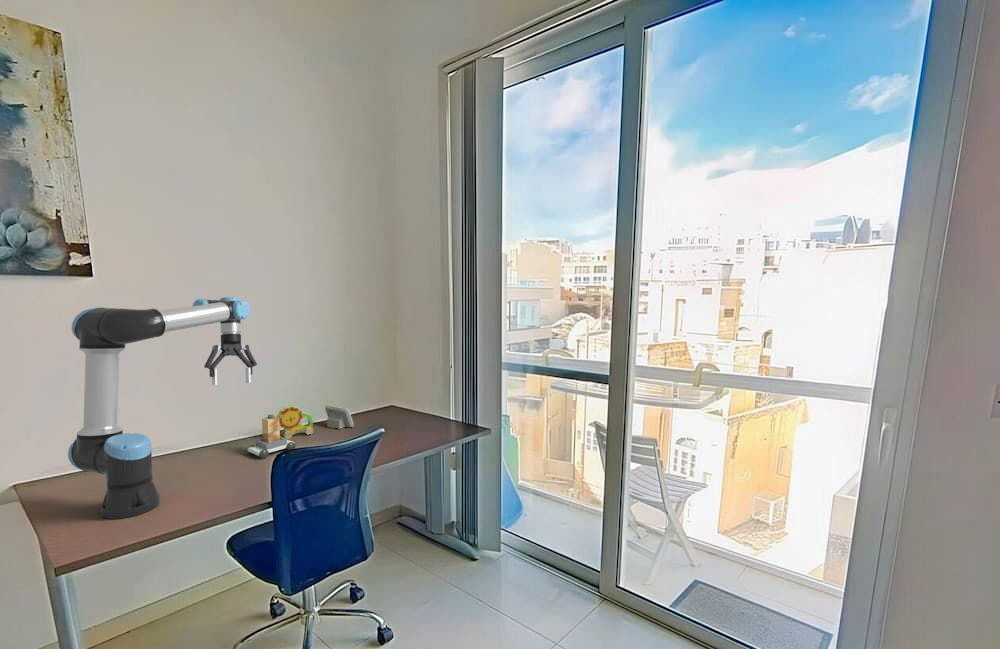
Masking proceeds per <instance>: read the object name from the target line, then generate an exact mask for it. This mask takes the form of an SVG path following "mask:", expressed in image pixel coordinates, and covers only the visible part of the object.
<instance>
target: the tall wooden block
mask: <svg viewBox="0 0 1000 649" xmlns="http://www.w3.org/2000/svg"><path fill="white" fill-rule="evenodd" d="M261 423H262V424H261V427H262V429H261V430H262V432H261V433H262V438H263V442H266V443H270V442H274V441H278V440H280V437H281V432H280V428H281V427H280V424H279V417H277V416H275V415H274V414H268V415H267V416H266V417H263V418H261Z"/></svg>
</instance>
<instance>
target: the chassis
mask: <svg viewBox="0 0 1000 649" xmlns="http://www.w3.org/2000/svg"><path fill="white" fill-rule="evenodd" d="M292 448H294V449H296V443H295V441H292V440H290V439H286V438H285V437H282V436H280V440H278V441H274V442H270V443H266V442H263V437H261V438H258V439H256V440H255V444H250V445H249V446H248V447H247V448H246V450H247V453H249V454H251V453H252V454H253V455H255V456H258V457H259V458H260V459H263V458H264V459H266V458H268V456H269V454H270V453H273V452H277V451H280V450H284V449H286V450H287V449H292Z"/></svg>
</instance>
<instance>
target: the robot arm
mask: <svg viewBox="0 0 1000 649" xmlns="http://www.w3.org/2000/svg"><path fill="white" fill-rule="evenodd" d="M250 314H251V307H250V304H249V303H248V302H246V301H245V300H240V299H239V298H238V297H234V296H233V297H231V296H227V297H226V296H225V297H221V298H220V299H207V298H204V299H203V298H198V299H196V300H194V302H193V303H192V305H191V306H185V307H178V308H171V309H169V308H168V309H163V310H159V309H157V308H150V309H149V308H148V309H133V308H115V307H114V308H113V307H93V308H87V309H84V310H83V311H81V312H80V313H79V314H76V316H75V317H74V319H73V321H72V323H71V331H72V334H73V336H74V337H75V338H77V340H79V348H78V349H79V350H80V351H81V352H83V353H84V354H85V358H84V360H85V361H84V391H83V392H84V395H83V421H82V422H83V424H82V428H81V429H79V430H78V431H77V432H76V438H75V439H74V440H73V442H72V443H71V444H70V445H69V447H68V451H67V457H68V461H69V462H70V464H71V466H73V467H74V468H77V469H78V470H81V471H83V472H85V473H94V474H101V475H105V476H106V491H105V494H104V498H103V502H102V503H101V507H100V513H101V514H100V515H101V516H102V518H104V519H108V520H110V519H111V520H115V519H116V520H117V519H125V518H131V517H134V516H138V515H143V514H145V513H147V512H149V511H151V510H153V509H156V507H158V506H159V505H160V504H161V495H160V493H159V491H158V489H157V486H156V484H155V482H154V481H153V480H154V479H153V478H154V477H153V464H152V463H153V461H152V460H153V458H152V457H153V456H152V450H153V447H152V444H151V439H150V438H149V436H148V435H145V434H142V433H137V432H135V433H130V432H128V433H123V431H124V429H123V427H122V426H120V425H119V424H118V410H119V408H118V406H119V405H118V403H119V372H120V370H119V369H120V353H121V352H123V351H124V350H125V349H126V345H127V344H132V343H136V342H140V341H145V340H150V339H154V338H159V337H162V336H163V335H164V334H165V333H169V332H174V331H178V330H179V331H180V330H185V329H190V328H196V327H199V326H200V327H201V326H205V325H211V324H216V323H219V322H220V323H219V324H220V333H221V334H220V345H218V344H214V345H212V349H211V352H210V354H209V356H208V358H207V360H206V362H205V364H204V368H205V369H209V378H211V385H212V386H217V385H218V369H217V368H216V367H217V366H218V365H219V364H220V363H221V361H222V360H223V359H224V358H225V357H226V356H227V357H229V356H232V357H234V356H236V357H238V359H240V360H241V361H242V363H243V364H244V365H245V366H246V367H245V383H246V384H248V383H252V378H251V377H252V375H253V368H254V367H256V366H258V364H257V361H256V360H255V357H254V356H253V354H252V352H251V350H250V346H249V344H244V345H242V335H241V333H242V328H241V326H242V324H241V321H242V320H246V319H247V318H249V316H250ZM220 350H221V352H220V353H219V355H218V356H217V353H218V352H219V351H220ZM242 351H244V353H243V352H242ZM244 354H245V355H246V356H245V355H244ZM216 356H217V357H216ZM215 358H216V359H215ZM214 359H215V360H214Z"/></svg>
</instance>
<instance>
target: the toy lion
mask: <svg viewBox="0 0 1000 649" xmlns="http://www.w3.org/2000/svg"><path fill="white" fill-rule="evenodd" d="M276 417H279V424H280V428H282V429H283V430H282V431H281V437H282V436H283V438H286V439H287V440H290V439H291V438H293V436H294V435H296V434H298V433H305V434H306V435H308V436H310V435H309V434H311V435H312V434H314V428H313V427H314V426H313V425H314V424H313V418H312V416H311V415H310V414H309V413H307V412H305V411H304V412H303V411H302V409H300V408H299V407H298V406H294V405H288V406H285V407H284V408H282V409H280V410H279V412H278V413H277V415H276ZM303 418H307V420H308V424H307V425H304V424H303V423H301V420H302V419H303Z"/></svg>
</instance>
